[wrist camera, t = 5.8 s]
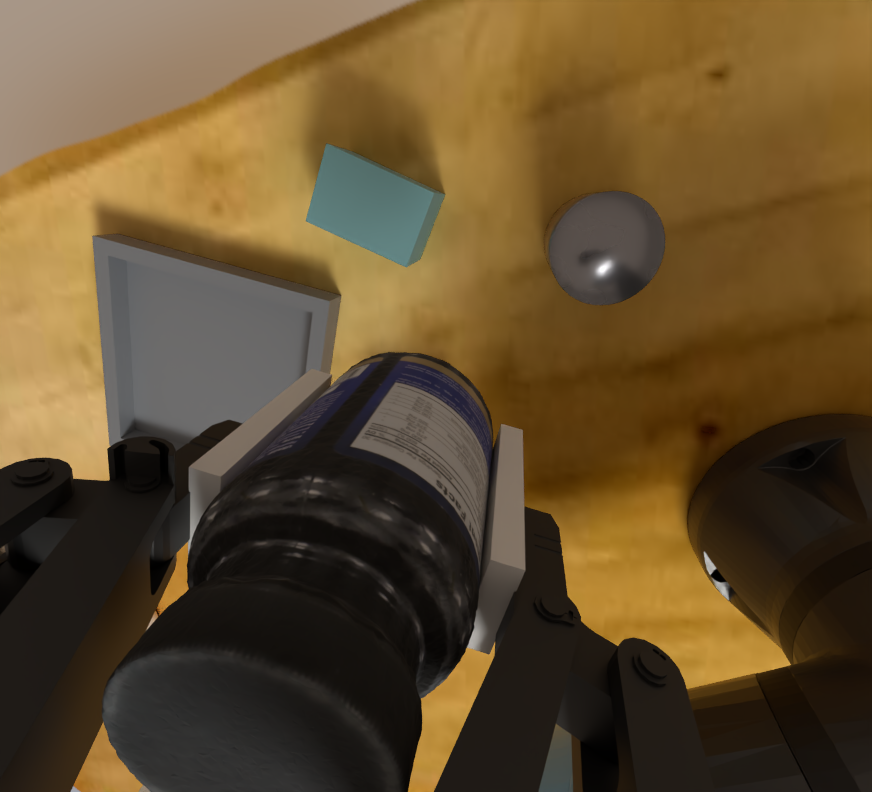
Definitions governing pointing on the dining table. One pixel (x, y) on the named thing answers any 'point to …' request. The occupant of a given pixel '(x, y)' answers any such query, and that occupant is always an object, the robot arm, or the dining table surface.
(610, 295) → the metal cylinder
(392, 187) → the teal block
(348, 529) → the pill bottle
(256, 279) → the tray
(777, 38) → the dining table surface
